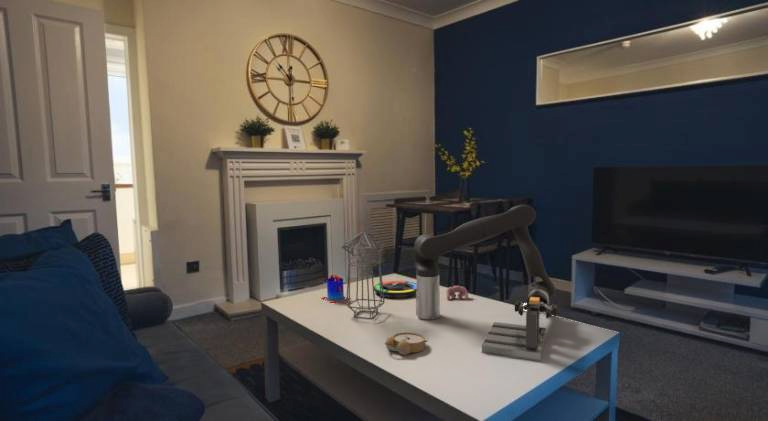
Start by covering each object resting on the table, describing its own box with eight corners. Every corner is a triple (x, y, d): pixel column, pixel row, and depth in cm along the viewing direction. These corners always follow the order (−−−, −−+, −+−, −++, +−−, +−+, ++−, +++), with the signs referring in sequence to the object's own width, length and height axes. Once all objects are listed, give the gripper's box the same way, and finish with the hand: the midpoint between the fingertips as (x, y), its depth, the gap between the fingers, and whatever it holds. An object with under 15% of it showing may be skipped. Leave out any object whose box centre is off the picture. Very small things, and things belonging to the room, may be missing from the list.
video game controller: (467, 301, 200) (466, 286, 202) (468, 299, 195) (467, 284, 198) (446, 301, 200) (445, 286, 203) (446, 299, 196) (446, 284, 199)
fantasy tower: (318, 298, 204) (317, 274, 203) (340, 294, 212) (339, 270, 210) (331, 304, 195) (330, 278, 194) (353, 299, 202) (352, 274, 201)
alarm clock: (432, 338, 146) (403, 343, 135) (431, 352, 146) (401, 359, 135) (407, 330, 154) (378, 334, 143) (406, 344, 154) (376, 349, 143)
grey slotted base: (545, 334, 153) (546, 297, 152) (540, 361, 133) (540, 317, 131) (494, 328, 161) (494, 292, 160) (481, 352, 140) (481, 311, 139)
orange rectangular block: (539, 328, 152) (539, 297, 151) (538, 332, 149) (538, 300, 148) (530, 327, 153) (530, 296, 152) (529, 330, 150) (529, 299, 149)
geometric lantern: (341, 318, 176) (337, 233, 174) (357, 308, 190) (355, 229, 188) (376, 322, 170) (373, 234, 168) (391, 311, 184) (388, 229, 182)
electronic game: (405, 302, 196) (405, 292, 196) (364, 295, 209) (364, 285, 209) (428, 290, 216) (428, 280, 215) (389, 284, 228) (389, 275, 228)
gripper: (518, 289, 166) (512, 301, 151) (558, 293, 160) (556, 305, 145) (518, 308, 167) (512, 322, 152) (558, 312, 161) (556, 327, 146)
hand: (534, 314), depth 149 cm, fingers open, 8 cm apart
